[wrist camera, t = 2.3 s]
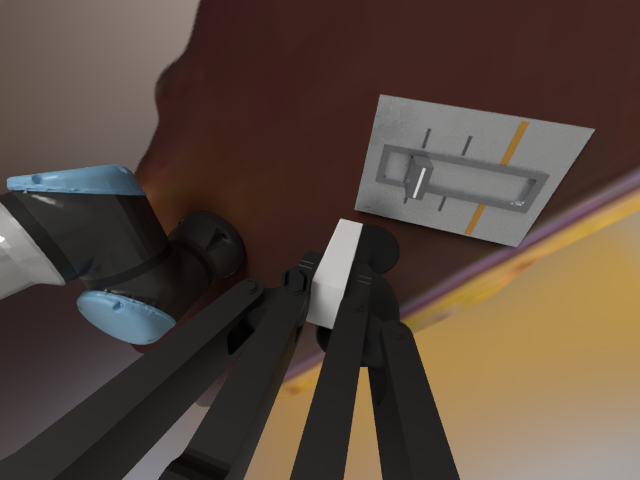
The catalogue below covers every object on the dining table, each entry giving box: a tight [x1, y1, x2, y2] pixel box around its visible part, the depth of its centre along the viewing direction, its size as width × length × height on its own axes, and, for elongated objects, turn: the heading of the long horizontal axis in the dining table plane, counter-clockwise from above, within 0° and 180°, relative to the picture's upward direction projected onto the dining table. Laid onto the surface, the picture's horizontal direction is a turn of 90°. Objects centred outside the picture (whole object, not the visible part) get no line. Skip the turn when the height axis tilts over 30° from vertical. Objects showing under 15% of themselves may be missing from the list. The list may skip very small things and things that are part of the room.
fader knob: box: [404, 155, 434, 201], centre depth 33 cm, size 2×4×6 cm, turn 172°
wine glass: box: [316, 225, 400, 367], centre depth 38 cm, size 10×10×20 cm
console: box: [355, 94, 595, 247], centre depth 35 cm, size 24×16×3 cm, turn 82°
